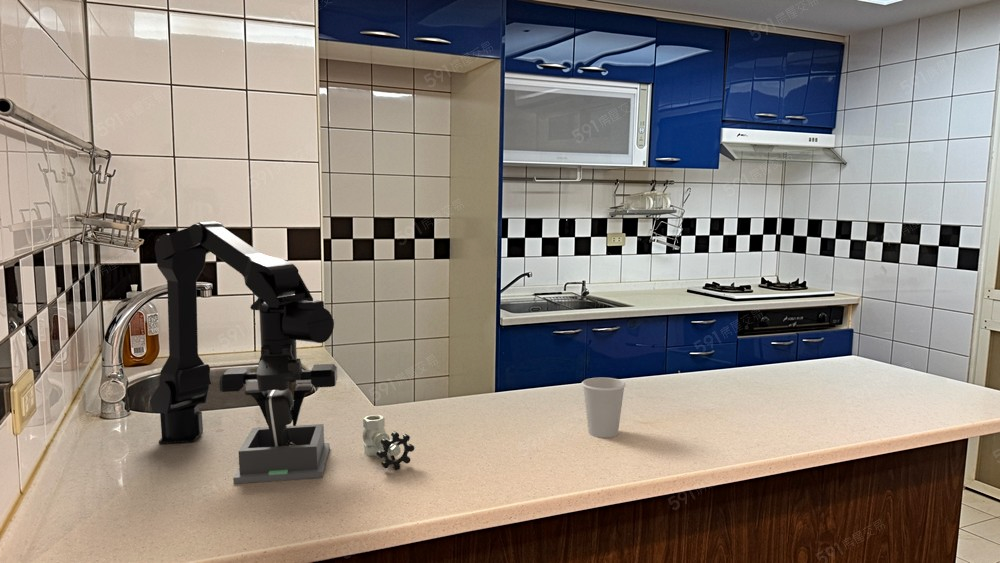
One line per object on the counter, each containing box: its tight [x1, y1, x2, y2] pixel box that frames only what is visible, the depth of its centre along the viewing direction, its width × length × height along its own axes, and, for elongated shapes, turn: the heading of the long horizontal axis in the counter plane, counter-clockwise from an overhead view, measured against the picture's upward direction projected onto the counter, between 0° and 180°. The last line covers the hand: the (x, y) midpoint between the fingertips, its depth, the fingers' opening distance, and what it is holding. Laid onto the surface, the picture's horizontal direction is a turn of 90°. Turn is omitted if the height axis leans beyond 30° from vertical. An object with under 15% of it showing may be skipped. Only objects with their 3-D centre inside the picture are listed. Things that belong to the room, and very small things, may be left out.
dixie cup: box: [581, 376, 627, 439], centre depth 136 cm, size 8×8×10 cm
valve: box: [362, 414, 415, 471], centre depth 124 cm, size 7×7×12 cm
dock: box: [232, 423, 330, 484], centre depth 122 cm, size 14×14×5 cm
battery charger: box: [265, 388, 296, 447], centre depth 121 cm, size 7×4×11 cm, turn 9°
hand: (282, 426), depth 121 cm, fingers closed on battery charger, 4 cm apart
